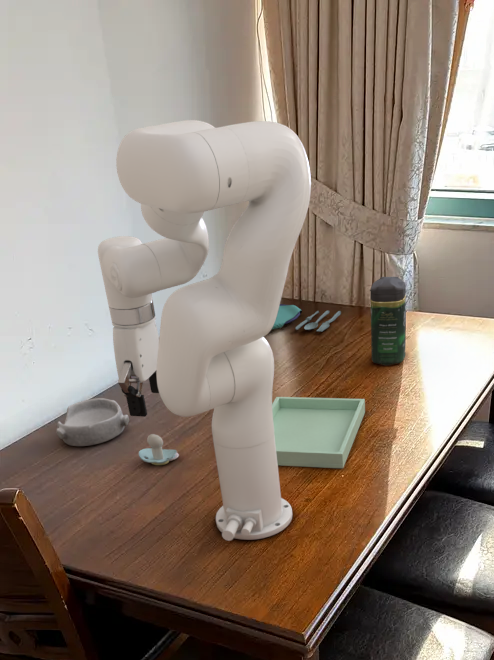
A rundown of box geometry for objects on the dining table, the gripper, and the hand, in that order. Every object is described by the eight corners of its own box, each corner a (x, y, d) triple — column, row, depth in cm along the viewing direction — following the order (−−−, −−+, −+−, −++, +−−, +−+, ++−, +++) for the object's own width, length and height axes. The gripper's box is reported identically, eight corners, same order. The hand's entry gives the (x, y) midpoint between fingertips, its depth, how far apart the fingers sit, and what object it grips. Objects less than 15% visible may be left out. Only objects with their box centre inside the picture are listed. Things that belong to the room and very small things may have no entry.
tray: (343, 468, 139) (342, 454, 138) (244, 463, 144) (242, 449, 142) (365, 412, 158) (364, 398, 157) (277, 409, 163) (276, 396, 161)
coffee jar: (404, 366, 177) (403, 285, 167) (369, 366, 178) (367, 286, 169) (407, 351, 185) (407, 273, 175) (374, 351, 186) (372, 274, 177)
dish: (61, 454, 154) (55, 431, 151) (59, 426, 165) (53, 404, 163) (133, 440, 156) (128, 417, 154) (127, 413, 168) (122, 392, 165)
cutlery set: (249, 308, 224) (248, 300, 223) (346, 314, 212) (345, 306, 210) (215, 331, 209) (214, 323, 208) (316, 339, 197) (316, 331, 196)
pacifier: (150, 452, 151) (137, 466, 146) (144, 423, 148) (131, 436, 143) (185, 454, 149) (173, 468, 145) (180, 424, 146) (168, 438, 141)
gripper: (133, 296, 141) (149, 383, 150) (90, 330, 127) (110, 424, 136) (171, 297, 139) (185, 385, 148) (131, 331, 125) (149, 426, 134)
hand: (149, 403), depth 142 cm, fingers open, 9 cm apart
